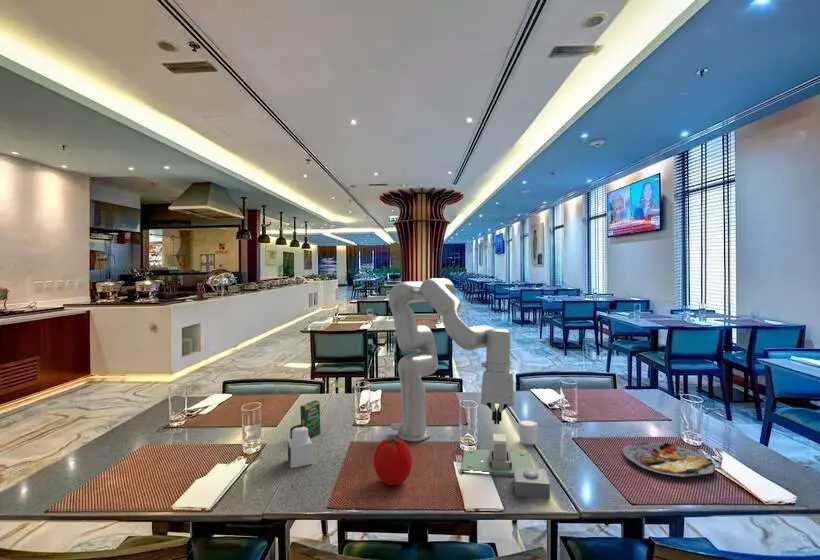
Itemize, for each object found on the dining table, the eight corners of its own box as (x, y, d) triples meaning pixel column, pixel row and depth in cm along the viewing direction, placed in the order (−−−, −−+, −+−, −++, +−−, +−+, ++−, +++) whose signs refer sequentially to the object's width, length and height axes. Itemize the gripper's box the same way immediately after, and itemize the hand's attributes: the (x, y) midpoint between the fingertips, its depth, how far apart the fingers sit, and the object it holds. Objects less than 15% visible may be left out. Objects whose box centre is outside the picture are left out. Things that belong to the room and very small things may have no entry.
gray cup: (538, 445, 145) (538, 426, 145) (519, 444, 146) (518, 425, 146) (536, 438, 152) (536, 420, 152) (518, 437, 153) (517, 419, 153)
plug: (493, 466, 128) (493, 440, 128) (493, 457, 134) (493, 433, 134) (506, 467, 127) (506, 441, 127) (505, 458, 133) (505, 434, 133)
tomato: (416, 474, 125) (415, 432, 125) (407, 495, 113) (406, 448, 113) (380, 471, 128) (379, 429, 128) (367, 491, 116) (367, 445, 116)
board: (461, 472, 126) (461, 468, 126) (464, 451, 141) (464, 447, 141) (535, 477, 122) (535, 473, 122) (529, 455, 137) (529, 451, 137)
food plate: (671, 445, 143) (671, 435, 143) (735, 476, 120) (734, 465, 120) (608, 453, 139) (608, 443, 139) (662, 487, 116) (661, 475, 116)
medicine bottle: (287, 460, 137) (287, 424, 137) (309, 456, 140) (308, 421, 140) (290, 468, 131) (289, 431, 131) (312, 464, 133) (312, 428, 133)
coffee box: (305, 440, 154) (305, 406, 154) (300, 439, 155) (299, 405, 155) (321, 433, 161) (320, 400, 161) (315, 432, 162) (315, 399, 162)
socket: (489, 467, 127) (489, 461, 127) (489, 455, 135) (489, 449, 135) (511, 469, 125) (511, 462, 125) (510, 456, 134) (509, 450, 134)
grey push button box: (516, 496, 112) (515, 479, 112) (513, 480, 120) (513, 464, 120) (550, 498, 110) (549, 481, 110) (545, 482, 119) (544, 466, 119)
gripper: (474, 368, 128) (473, 425, 129) (522, 371, 126) (521, 429, 126) (474, 363, 136) (473, 416, 136) (520, 365, 133) (519, 420, 134)
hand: (496, 422), depth 131 cm, fingers closed
